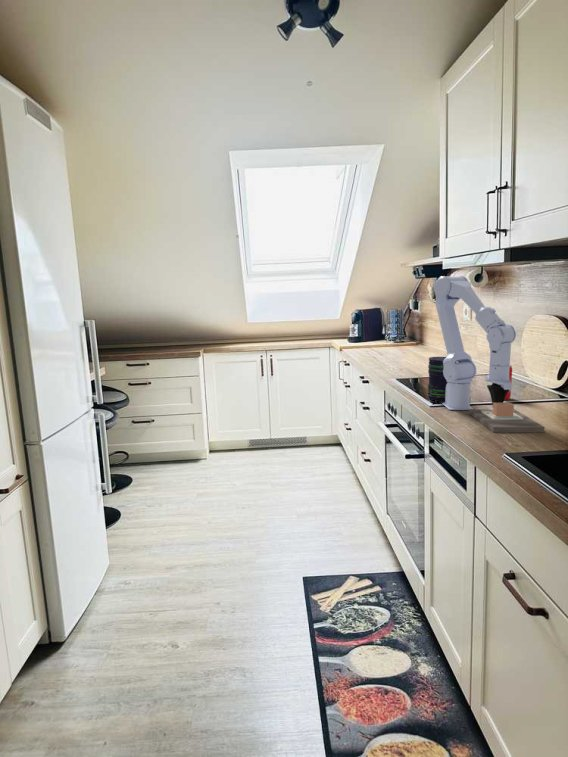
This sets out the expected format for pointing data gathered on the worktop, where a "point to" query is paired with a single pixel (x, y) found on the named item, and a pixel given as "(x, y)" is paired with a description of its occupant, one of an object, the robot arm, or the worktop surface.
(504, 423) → the ticket board
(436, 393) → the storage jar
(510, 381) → the beverage can
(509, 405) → the stub
